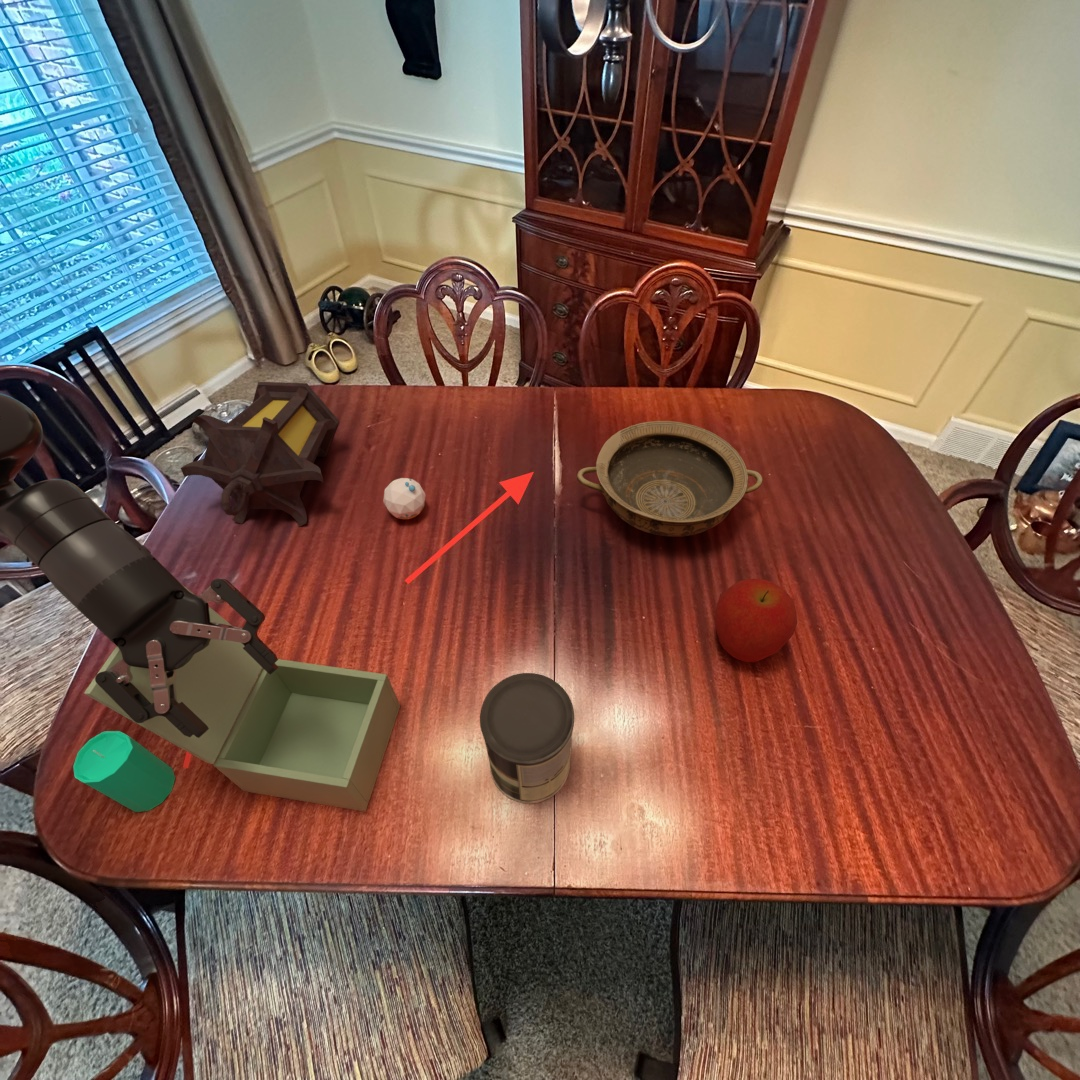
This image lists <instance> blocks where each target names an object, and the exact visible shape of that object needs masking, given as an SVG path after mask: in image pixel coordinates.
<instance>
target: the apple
mask: <svg viewBox="0 0 1080 1080" xmlns="http://www.w3.org/2000/svg"><path fill="white" fill-rule="evenodd" d="M713 620H714V624H715V625H714V626H715V630H716V635H717V639H718V643H719V644H720V645H721V646H722V648H723V650H724V651H725V652H727V654H729V655H730V656H731V657H732V658H734V659H736V660H738V661H741V662H743V663H744V662H745V663H756V662H759V661H762V660H763V659H766V658H768V657H771V656H773V655H774V654H776V653H777V652H778V651H780V650H781V649H782V648H783V647H784V646H785V645H786V644H787V642H789V640H790V639H791V638H792V637H793V636H794V634H795V631H796V629H797V625H798V616H797V609H796V605H795V601H794V599H793V598H792V596H791V595H790V594H789V593H788V592H787V590H786V589H784V588H783V587H781V586H779V585H778V584H777V583H775V582H773V581H769V580H766V579H762V578H745V579H742V580H738V581H736V582H735V583H733V584H732V585H731V586H729V587H728V588H727V589H726V590H724V591H723V592H722V593H720V595H719V596H718V600H717V603H716V606H715V612H714V619H713Z"/></svg>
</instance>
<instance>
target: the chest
mask: <svg viewBox="0 0 1080 1080" xmlns="http://www.w3.org/2000/svg"><path fill="white" fill-rule="evenodd" d="M277 659H278V660H277V661H276V662H275V664H276V665H277V666H278V668H277V669H276V670H275V671H274V672H273V673H272V674H269V673H267V672H266V671H265V670H264V669H263V668H262V669H261V671H260V673H259V675H258V677H257V679H256V681H255V683H254V685H253V687H252V689H251V691H250V693H249V695H248V697H247V699H246V701H245V703H244V705H243V706H242V708H241V710H240V712H239V714H238V716H237V718H236V720H235V722H234V724H233V726H232V728H231V730H230V732H229V734H228V736H227V738H226V740H225V742H224V744H223V746H222V748H221V750H220V752H219V754H218V756H217V758H216V760H215V762H214V764H212V766H213V767H214V768H216V769H217V770H218V771H219V772H220V773H221V774H223V775H224V776H225V777H226V778H228V779H229V780H230V781H231V782H232V783H234V784H235V785H236V786H237V787H238V788H239V789H240V790H242V791H243V792H245V793H252V794H258V795H262V796H263V795H264V796H270V797H276V798H281V799H282V798H283V799H286V800H288V799H289V800H292V801H300V802H306V803H311V804H317V805H323V806H329V807H335V808H341V809H346V810H352V811H358V812H364V813H365V812H367V810H368V806H369V803H370V800H371V796H372V794H373V791H374V788H375V784H376V782H377V778H378V775H379V773H380V769H381V766H382V764H383V760H384V757H385V754H386V751H387V747H388V745H389V742H390V740H391V739H390V738H391V735H392V732H393V729H394V726H395V723H396V720H397V718H398V714H399V711H400V708H401V703H400V702H399V699H398V697H397V695H396V692H395V690H394V688H393V686H392V684H391V680H390V678H389V676H388V674H386V673H379V672H372V671H366V670H365V671H364V670H359V669H351V668H345V667H337V666H330V665H323V664H317V663H310V662H308V663H307V662H302V661H295V660H287V659H281V658H277Z"/></svg>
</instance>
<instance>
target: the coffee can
mask: <svg viewBox="0 0 1080 1080" xmlns="http://www.w3.org/2000/svg"><path fill="white" fill-rule="evenodd" d="M575 717H576V716H575V709H574V705H573V702H572V699H571V697H570V696H569V694H568V693H567V691H566V690H565V689H564V688H563V687H562V686H561V685H560V684H559V683H558V682H557V681H555V680H554V679H552V678H551V677H549V676H546V675H544V674H541V673H540V674H539V673H534V672H522V673H516V674H513V675H510V676H508V677H505V678H503V679H502V680H501V681H499V682H497V684H495V685H494V686H492V688H491V689H490V690H489V692H488V693H487V695H486V696H485V697H484V700H483V702H482V704H481V707H480V713H479V725H480V726H479V727H480V731H481V734H482V737H483V739H484V743H485V744H484V745H485V749H486V752H487V753H486V754H487V757H488V761H489V768H490V775H491V778H492V780H493V782H494V784H495V786H496V787H497V789H498V790H499V791H500V793H502V794H503V795H504V796H506V797H507V798H508V799H511V800H512V801H515V802H517V803H520V804H538V803H541V802H545V801H547V800H549V799H550V798H552V797H554V796H555V795H557V793H558V792H559V791H560V790H561V789H562V788H563V787H564V785H565V784H566V781H567V779H568V777H569V774H570V770H571V752H572V751H571V750H572V740H573V739H572V737H573V731H574V727H575V719H576V718H575Z"/></svg>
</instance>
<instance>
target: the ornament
mask: <svg viewBox="0 0 1080 1080" xmlns="http://www.w3.org/2000/svg"><path fill="white" fill-rule="evenodd" d="M426 495H427V494H426V492H425V491H424V489H423V487H422V486H421V484H420V482H418V481H416V480H415V479H413V478H409V477H399V478H396V479H394V480H392V481H391V482H390V483H389V484H387V486H386V487H385V488H384V491H383V499H382V500H383V501H382V502H383V504H384V506H385V508H386V509H387V511H388V512H389V514H391V516H392V517H394V518H397V519H399V520H411V519H414V518H416V517H417V516H418V515H420V514H421V512H423V510H424V508H425V505H426Z"/></svg>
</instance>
